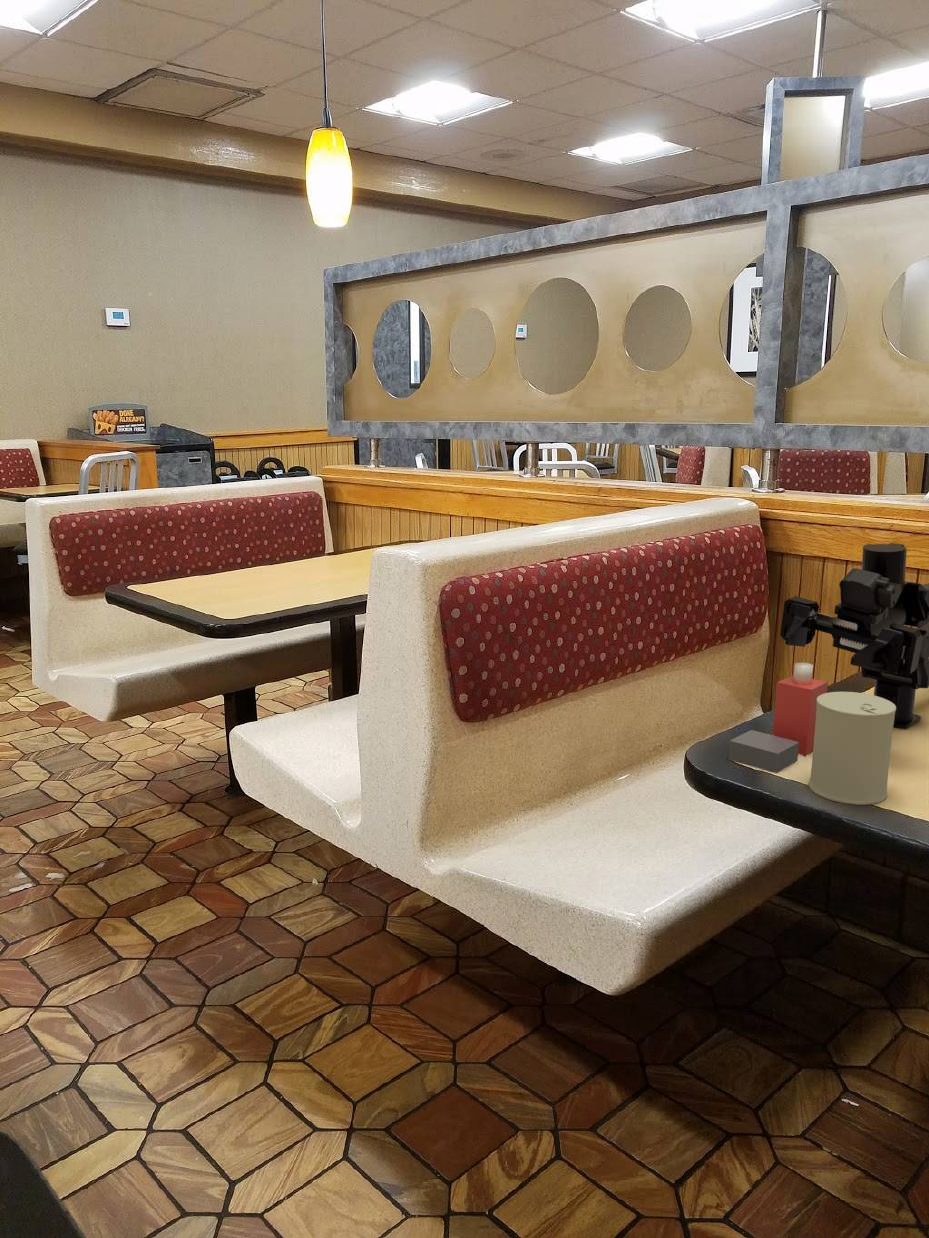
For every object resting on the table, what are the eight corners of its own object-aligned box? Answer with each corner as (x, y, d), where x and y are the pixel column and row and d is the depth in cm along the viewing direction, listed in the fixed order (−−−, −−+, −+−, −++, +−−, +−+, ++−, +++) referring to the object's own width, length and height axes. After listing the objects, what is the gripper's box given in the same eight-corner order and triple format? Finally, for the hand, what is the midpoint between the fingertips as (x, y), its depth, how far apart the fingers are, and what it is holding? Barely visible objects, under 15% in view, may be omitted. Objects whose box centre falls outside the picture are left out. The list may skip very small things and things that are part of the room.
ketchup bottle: (788, 738, 140) (795, 657, 137) (822, 746, 137) (829, 664, 134) (772, 746, 136) (778, 664, 134) (805, 756, 133) (813, 671, 130)
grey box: (749, 749, 136) (751, 729, 135) (797, 763, 131) (799, 742, 131) (728, 761, 132) (729, 740, 131) (776, 775, 127) (778, 753, 126)
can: (838, 808, 116) (847, 713, 113) (793, 780, 125) (801, 690, 122) (903, 800, 119) (914, 707, 116) (855, 772, 127) (863, 685, 124)
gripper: (817, 552, 141) (761, 576, 131) (950, 583, 128) (899, 611, 118) (807, 623, 145) (752, 652, 135) (934, 660, 132) (884, 694, 122)
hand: (818, 650), depth 128 cm, fingers open, 9 cm apart
